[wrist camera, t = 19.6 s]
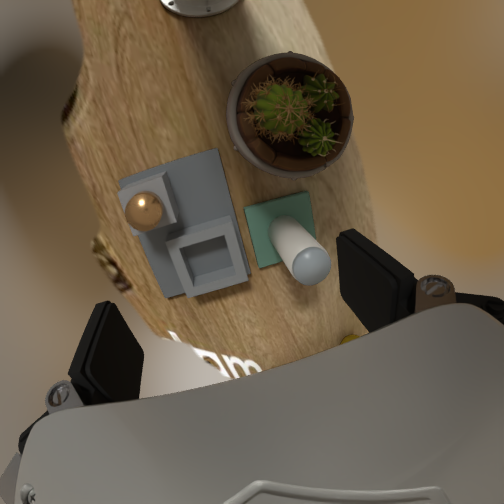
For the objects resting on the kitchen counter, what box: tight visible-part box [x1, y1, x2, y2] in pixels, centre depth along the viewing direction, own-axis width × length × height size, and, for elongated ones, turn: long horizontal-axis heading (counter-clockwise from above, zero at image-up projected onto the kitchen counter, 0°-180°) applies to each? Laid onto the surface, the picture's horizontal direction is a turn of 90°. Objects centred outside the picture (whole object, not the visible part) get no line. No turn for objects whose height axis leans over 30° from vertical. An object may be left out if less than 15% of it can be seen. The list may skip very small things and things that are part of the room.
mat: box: [243, 191, 316, 268], centre depth 43 cm, size 10×10×1 cm
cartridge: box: [268, 215, 331, 285], centre depth 37 cm, size 5×5×12 cm
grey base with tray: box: [118, 148, 251, 298], centre depth 38 cm, size 20×14×6 cm
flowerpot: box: [226, 51, 354, 180], centre depth 27 cm, size 14×15×20 cm
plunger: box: [125, 191, 163, 231], centre depth 33 cm, size 4×4×6 cm
